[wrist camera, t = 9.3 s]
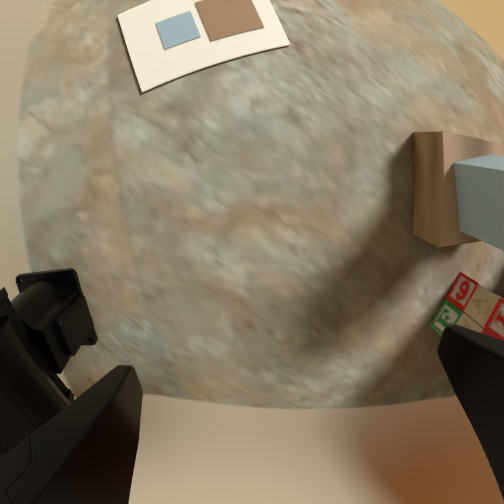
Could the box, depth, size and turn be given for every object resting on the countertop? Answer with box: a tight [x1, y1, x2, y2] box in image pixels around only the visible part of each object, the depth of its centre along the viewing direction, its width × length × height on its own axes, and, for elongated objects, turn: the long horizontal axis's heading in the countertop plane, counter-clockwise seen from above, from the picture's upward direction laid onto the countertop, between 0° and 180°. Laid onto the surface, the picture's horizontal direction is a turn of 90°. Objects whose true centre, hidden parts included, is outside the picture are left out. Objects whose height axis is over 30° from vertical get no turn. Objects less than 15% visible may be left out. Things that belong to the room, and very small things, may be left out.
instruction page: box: [118, 0, 290, 93], centre depth 14 cm, size 10×7×1 cm
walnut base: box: [412, 132, 503, 247], centre depth 18 cm, size 8×8×4 cm
